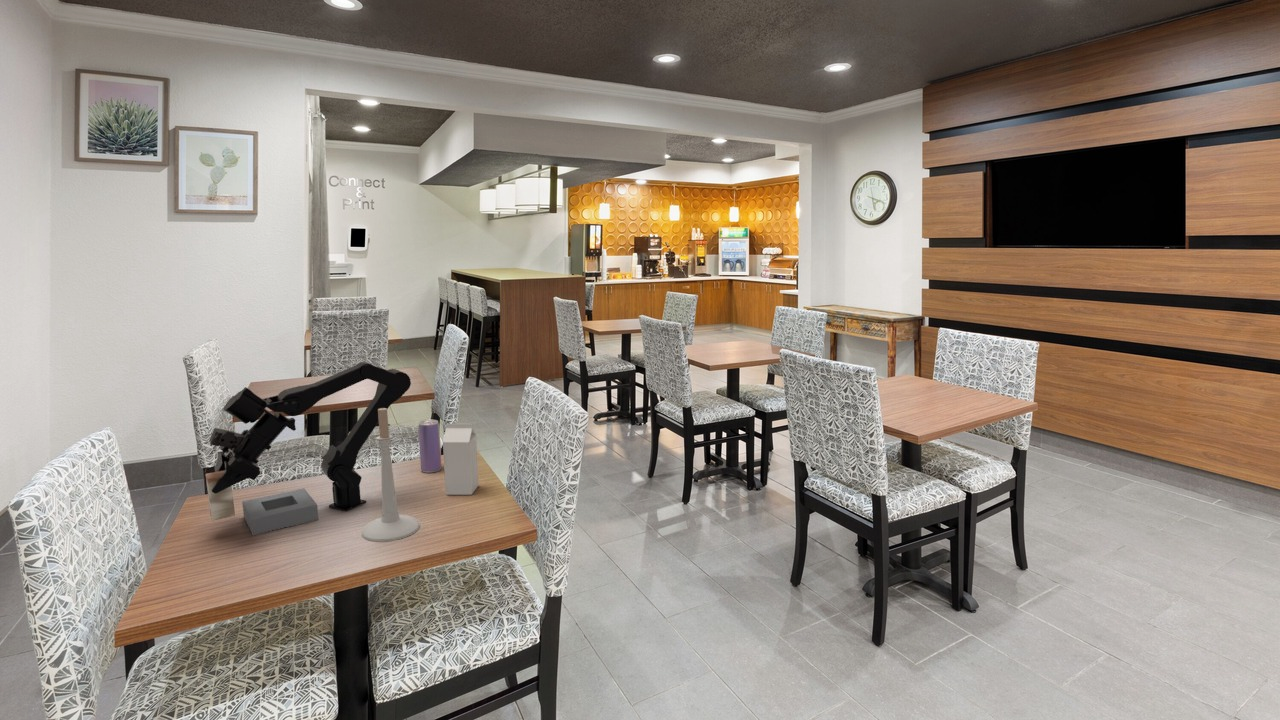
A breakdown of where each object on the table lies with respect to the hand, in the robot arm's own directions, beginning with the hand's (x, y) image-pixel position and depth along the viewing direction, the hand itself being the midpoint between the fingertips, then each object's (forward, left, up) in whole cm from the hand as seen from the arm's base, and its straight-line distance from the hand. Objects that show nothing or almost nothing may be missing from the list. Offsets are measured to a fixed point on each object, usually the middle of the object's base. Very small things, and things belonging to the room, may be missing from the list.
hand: (212, 489), depth 147 cm
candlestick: (-34, -20, -11) cm, 41 cm away
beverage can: (-12, -56, -11) cm, 58 cm away
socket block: (-4, -13, -11) cm, 18 cm away
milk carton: (-32, -47, -11) cm, 58 cm away
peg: (-1, -1, -7) cm, 7 cm away
